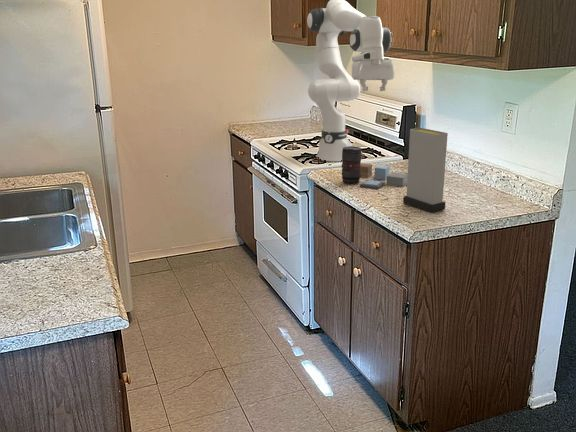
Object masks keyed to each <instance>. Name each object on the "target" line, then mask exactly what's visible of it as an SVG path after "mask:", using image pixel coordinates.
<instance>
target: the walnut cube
mask: <svg viewBox="0 0 576 432" xmlns="http://www.w3.org/2000/svg"><path fill="white" fill-rule="evenodd" d="M360 170H361V173H360V178H367V179H368V178H370V177H371V176H373V164H371V163H361V169H360Z"/></svg>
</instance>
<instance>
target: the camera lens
mask: <svg viewBox="0 0 576 432" xmlns="http://www.w3.org/2000/svg"><path fill="white" fill-rule="evenodd" d="M362 153H363V152H362V148H361V147H360V146H353V145H352V146H346V147H343V150H342V161H341V178H342V183H343V184H344V185H357V184H360V183H359V182H360V179H361V177H360V173H361V170H360V169H361V162H362Z"/></svg>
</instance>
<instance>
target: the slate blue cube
mask: <svg viewBox="0 0 576 432" xmlns="http://www.w3.org/2000/svg"><path fill="white" fill-rule="evenodd" d="M390 169H391V166H389V165H381V164H378V165H377V166H375V167H374V174H373V175H374V178H373V179H375V180H384V181H387V176H388V175H389V174H390Z"/></svg>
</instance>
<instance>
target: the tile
mask: <svg viewBox="0 0 576 432" xmlns="http://www.w3.org/2000/svg"><path fill="white" fill-rule="evenodd" d="M385 185H386V182H384V181H381V180H380V181H379V180H372V179H366V180H365V181H363V182H362V183H359V188H364V189H374V190H379V189H381V188H382V187H384V186H385Z"/></svg>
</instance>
